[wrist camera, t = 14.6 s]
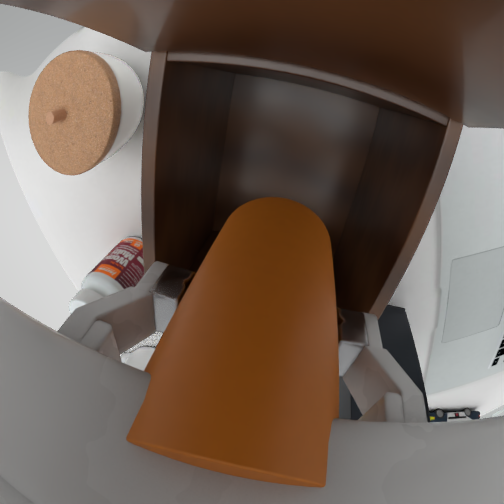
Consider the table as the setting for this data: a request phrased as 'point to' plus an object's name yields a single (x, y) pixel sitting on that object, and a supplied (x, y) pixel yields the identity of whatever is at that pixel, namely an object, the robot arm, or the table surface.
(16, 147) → the table surface
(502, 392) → the table surface
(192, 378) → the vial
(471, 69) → the chest lid
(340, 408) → the stand
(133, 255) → the pill bottle
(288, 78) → the chest
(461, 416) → the toy car
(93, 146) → the trinket box
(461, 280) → the table surface
